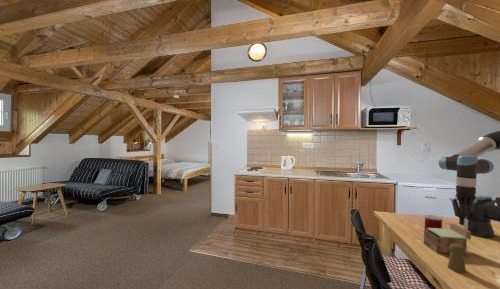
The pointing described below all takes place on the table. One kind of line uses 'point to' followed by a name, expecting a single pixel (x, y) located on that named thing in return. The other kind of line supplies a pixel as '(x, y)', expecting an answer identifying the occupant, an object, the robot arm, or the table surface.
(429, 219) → the canned food
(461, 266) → the cork
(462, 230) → the lid
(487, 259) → the table surface
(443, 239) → the box
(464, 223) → the robot arm
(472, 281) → the table surface
